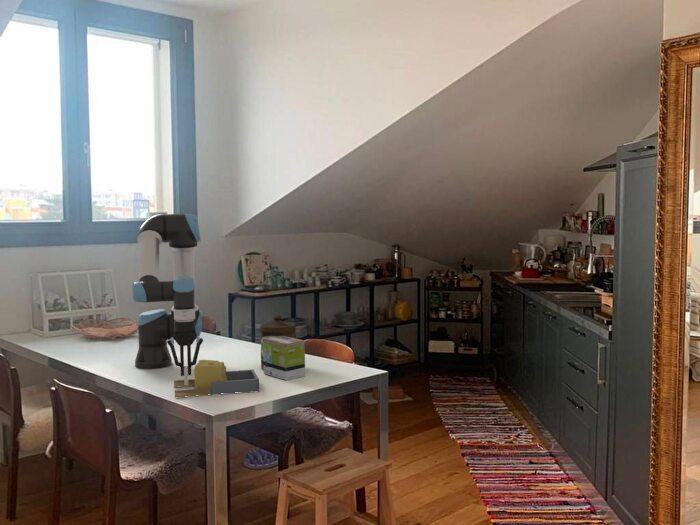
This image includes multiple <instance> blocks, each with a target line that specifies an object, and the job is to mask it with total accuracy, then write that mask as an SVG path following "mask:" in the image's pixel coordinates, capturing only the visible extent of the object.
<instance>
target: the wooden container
mask: <svg viewBox="0 0 700 525" xmlns="http://www.w3.org/2000/svg"><path fill="white" fill-rule="evenodd" d="M282 319H283V317H282V315H280V314H276V315H274V316H273V321H272V322H271V321H270V322H264V323H261V324H260V325H259V326H260V327H259V328H260V329H259V330H260V368H261V370H263V371H264V364H263V339H265V338H271V337H276V336H287V337H291V338H296V339H297V333H296V332H297V330H296V329H297V328H296V323H295V322H292V321H283V320H282Z"/></svg>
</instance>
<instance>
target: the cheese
mask: <svg viewBox="0 0 700 525" xmlns="http://www.w3.org/2000/svg"><path fill="white" fill-rule="evenodd" d="M226 371H227V366H226V365H225V362H224V361H219V360H215V359H214V360H211V359H199V360H198V362H196V365H194V373H193V375H194V378H193V379H195V386H194V389H199V388H211V382H219V381H227V377H226Z"/></svg>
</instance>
